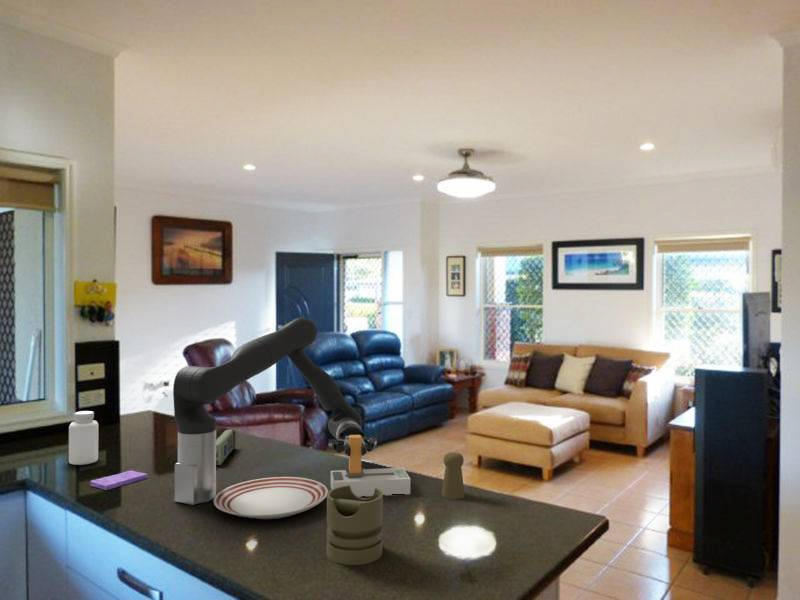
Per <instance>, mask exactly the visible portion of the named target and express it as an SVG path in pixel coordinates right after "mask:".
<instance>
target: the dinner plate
mask: <svg viewBox="0 0 800 600" xmlns="http://www.w3.org/2000/svg"><path fill="white" fill-rule="evenodd" d="M328 492H329V489H328V488H327V486H326V485H324V483H321V482H320V481H317V480H314V479H310V478H305V477H297V476H296V477H295V476H275V477H264V478H263V477H262V478H258V479H257V478H256V479H249V480H245V481H241V482H239V483H236V484H233V485H229V486H228V487H225V488H224V489H222V490H220V491H219V492H218V493H216V496H215V498H214V499H213V504H214V506H215V507H216V509H218V510H220V511H221V512H224V513H227V514H229V515H234V516H237V517H242V518H247V517H248V518H249V519H253V518H256V519H257V520H273V519H283V518H288V517H292V516H295V515H297V514H300V513H303V512H306V511H308V510H310V509H312V508H314V507H316V506H317V505H319V504H320V503H322V502H323V501H324V500H325V499H327V493H328ZM256 519H255V520H256Z"/></svg>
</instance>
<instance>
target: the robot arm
mask: <svg viewBox="0 0 800 600" xmlns="http://www.w3.org/2000/svg"><path fill="white" fill-rule="evenodd" d="M317 331H318V330H317V326H316V325H315V323H314V322H313V321H312V320H310V319H308V318H307V317H298V318H295V319H293V320H291V321H289V322H288V323H286V324H284V325H282V326H281V327H280V328H279V329H278V330H277V331H273V332H270V333H268V334H264V335H262V336H260V337H259V336H258V337H257V338H255V339H251V340H250V341H248V342H245V343H244V344H242V345H240V346H238V347H237V348H236V349H235V350H234V352H233V353H232V356H231V357H230V360H227V361H225V362H224V363H222V364H219V365H216V366H213V367H212V366H211V367H210V366H209V367H206V366H205V367H204V366H196V365H187V366H184V367H182V368H181V369H179V370H178V372H177V373H176V375H175V378H174V381H173V386H172V387H173V389H172V390H173V391H172V395H173V396H172V397H173V413H174V415H173V416H174V420H175V422H176V424H177V425H176V426H177V462H175V464H174V502H177V503H182V504H188V505H190V506H191V505H193V506H194V505H197V504H202V503H206V502H209V501H212V500H214V498H215V496H216V495H217V466H216V440H217V420H216V417H214V415H212V414H211V413H209V412H208V411H207V409H206V408H205V406H206V405H211V404H213V403H216V402H217V401H218V400H220V399H221V398H222V397H224V396H225V395H227V394H228V393H229V392H231V391H232V390H233V389H234V388H236V387H237V386H239V385H241V384H243V383H244V382H247V381H248V380H250V379H251V378H254V377H255V376H257V375H259V374H261V373H262V372H265V371H266V370H268V369H270V368H271V367H272V366H274V365H276V364H277V363H278V362H280V361H281V360H283V359H284V358H285V357H286V356H287V357H288V358H289V360H290V361H291V362H292V363H293V365H294V366H295V367H296V368H297V370H298V371H299V372H300V373H301V375H302V376H303V377H304V378H305V380H306V382H308V385H309V386H310V387H311V389H312V390H313V392H314V394H315V396H316V397H317V400H318V401H319V403H320V405H321V406H322V408H323V410H324V411H327V412H328V411H332V410H335V409H342V410H343V411H341V412H339V413H338V414H337V415H335V416H333V417H331V418H330V419H329V420H328V423H327V426H328V427H327V429H328V431H329V433H330V434H331V436H333V437H334V438H335V439H334V438H329V439H328V449H329V450H332V451H334V452H335V453H337V454H338V453H339V454H341V453H342V452H343V453H344V454H345V456H347V457H349V456H351V448H350V445H349V435H361V437H362V445H361V457H362V456H363V457H365V455H366V454H367V453H368V452H369V453H370V452H372V451H373V450H374V449H376V448H377V443H378V442H377V437H375V436H374V437H371V438H369V439H368V437H366V436H365V433H364V432H363V429H362V425H363V419H362V416H361V414H360V413H359V412H358V411H357V410H356V409H355V408H354V407H353V406H352V405H351V404H350V403H349V402H348V401H347V400H346V398H345V397H344V395H343V394H342V392H341V390H340V389H339V387H338V385H337V384H336V383H337V382H335V380H334V379H333V377H332V376H331V375H330V374H329V373H327V372H326V371H325V370H324V369H322V368H321V367H319V366H318V365H317V364H315V363H314V362H313V361H312V360H311V359H310V358H309V356H308V355H307V354H306V352H305V348H307V347H309V346H311V345H312V344H313V343H314V341H315V340H316V338H317V334H318V332H317ZM204 405H205V406H204Z"/></svg>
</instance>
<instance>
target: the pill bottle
mask: <svg viewBox="0 0 800 600" xmlns="http://www.w3.org/2000/svg"><path fill="white" fill-rule="evenodd" d="M94 418H95V412H94V411H92V410H91V411H90V410H80V411H77V412H74V415H73V420H74V421H72V422H71V423H70V424H69V426H68V462H69V464H70V465H74V466H76V465H78V466H83V465H89V464H93V463H96V462H97V461H99V460H98V459H99V423H98V421H97V420H94Z"/></svg>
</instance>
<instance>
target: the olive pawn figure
mask: <svg viewBox="0 0 800 600" xmlns="http://www.w3.org/2000/svg"><path fill="white" fill-rule="evenodd" d="M464 461H465V460H464V456H463V455H462V454H461V453H460V452H447V453H445V454H444V456H443V464H444V466H445V468H444V474H443V480H442V481H443V483H442V488H441V489H442V490H441V497H442V498H443V499H446V500H452V501H453V500H461V499H462V500H463V499H464V498H465V496H466V495H465V494H466V493H465V487H464V485H465V484H464V479H463V467H462V466H463V465H464Z"/></svg>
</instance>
